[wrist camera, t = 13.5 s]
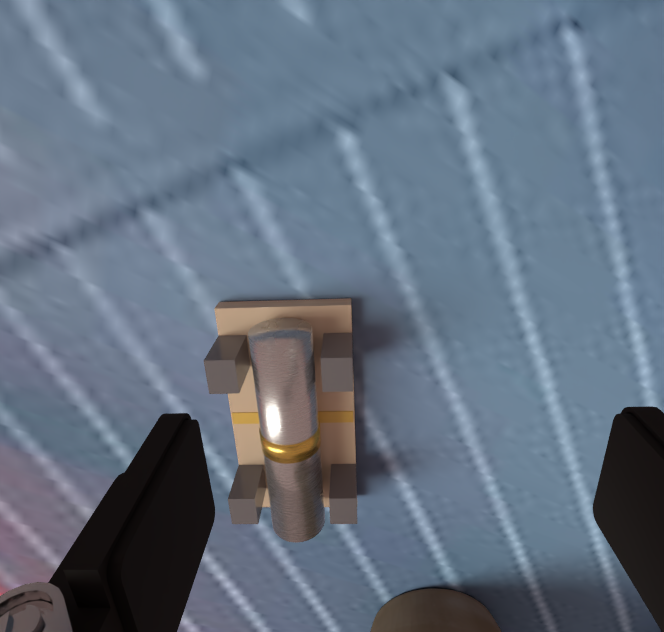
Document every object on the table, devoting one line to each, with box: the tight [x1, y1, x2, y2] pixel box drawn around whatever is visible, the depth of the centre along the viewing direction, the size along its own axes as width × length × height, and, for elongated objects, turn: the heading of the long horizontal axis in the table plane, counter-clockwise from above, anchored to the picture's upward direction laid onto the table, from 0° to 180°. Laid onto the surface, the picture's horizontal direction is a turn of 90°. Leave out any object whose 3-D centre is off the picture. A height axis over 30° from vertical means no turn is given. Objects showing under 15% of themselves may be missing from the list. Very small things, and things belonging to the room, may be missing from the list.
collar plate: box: [204, 298, 357, 524], centre depth 41 cm, size 11×22×6 cm, turn 3°
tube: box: [248, 318, 325, 542], centre depth 40 cm, size 20×5×5 cm, turn 2°
